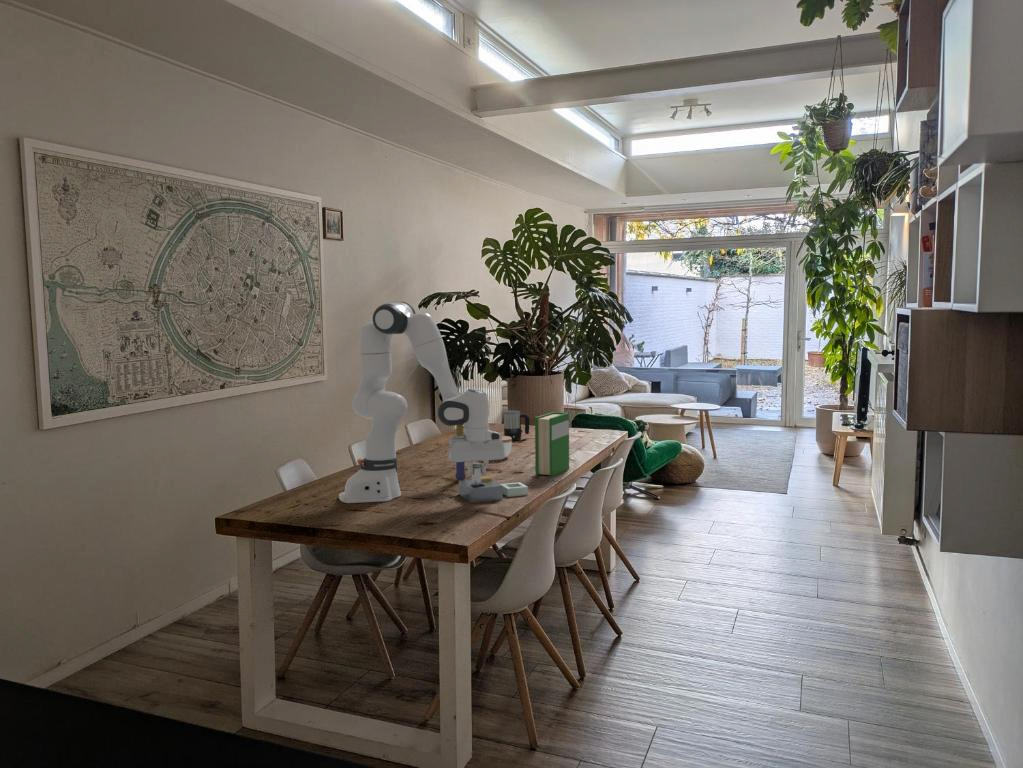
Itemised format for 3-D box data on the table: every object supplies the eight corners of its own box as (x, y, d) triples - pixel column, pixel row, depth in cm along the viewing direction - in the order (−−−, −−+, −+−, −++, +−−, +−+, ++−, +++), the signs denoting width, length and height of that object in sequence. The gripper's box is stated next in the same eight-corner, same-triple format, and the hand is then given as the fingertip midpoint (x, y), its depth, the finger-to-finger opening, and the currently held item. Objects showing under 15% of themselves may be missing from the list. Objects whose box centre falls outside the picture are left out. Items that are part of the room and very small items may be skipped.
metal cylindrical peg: (473, 498, 275) (473, 464, 274) (470, 496, 278) (470, 463, 277) (482, 497, 276) (482, 464, 275) (479, 495, 279) (479, 462, 278)
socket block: (470, 502, 272) (470, 488, 271) (459, 494, 285) (458, 480, 284) (502, 499, 276) (502, 485, 276) (489, 491, 289) (489, 477, 289)
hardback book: (552, 477, 312) (551, 418, 309) (535, 475, 315) (535, 417, 313) (569, 468, 327) (568, 412, 325) (553, 467, 331) (552, 411, 328)
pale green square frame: (507, 496, 280) (507, 488, 280) (500, 492, 287) (500, 484, 287) (528, 494, 283) (527, 486, 282) (520, 489, 290) (520, 482, 290)
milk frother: (508, 441, 395) (508, 413, 394) (494, 437, 409) (494, 409, 408) (532, 439, 402) (532, 411, 401) (517, 435, 416) (517, 407, 414)
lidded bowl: (513, 455, 359) (513, 431, 358) (510, 460, 347) (510, 436, 346) (486, 454, 361) (486, 431, 360) (482, 460, 348) (482, 436, 347)
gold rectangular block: (481, 495, 282) (480, 479, 282) (477, 492, 286) (477, 476, 286) (492, 494, 284) (492, 478, 283) (488, 491, 288) (488, 475, 287)
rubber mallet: (442, 482, 305) (441, 407, 302) (448, 478, 312) (447, 404, 309) (473, 483, 302) (471, 407, 299) (478, 479, 309) (477, 405, 306)
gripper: (451, 437, 268) (451, 476, 270) (506, 434, 276) (506, 472, 277) (446, 435, 274) (446, 473, 275) (500, 432, 281) (500, 469, 283)
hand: (476, 473), depth 276 cm, fingers closed on metal cylindrical peg, 3 cm apart
